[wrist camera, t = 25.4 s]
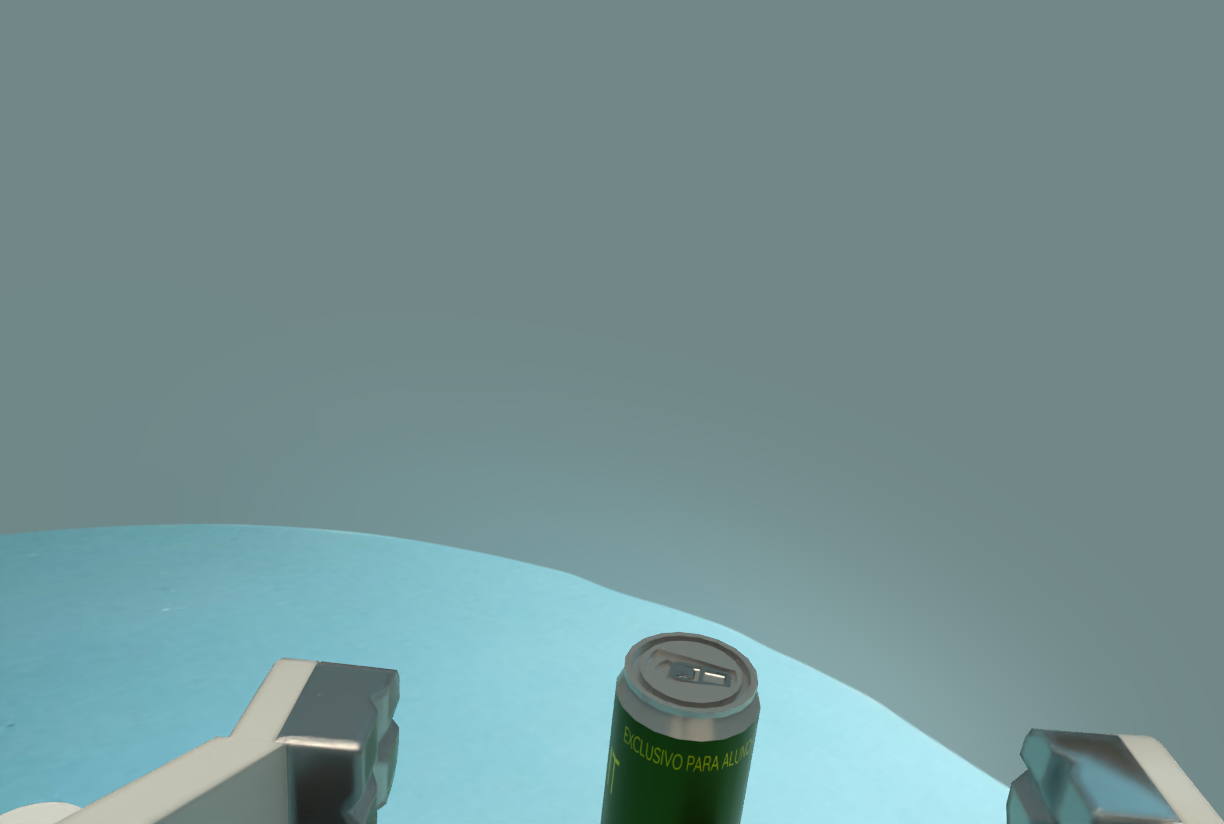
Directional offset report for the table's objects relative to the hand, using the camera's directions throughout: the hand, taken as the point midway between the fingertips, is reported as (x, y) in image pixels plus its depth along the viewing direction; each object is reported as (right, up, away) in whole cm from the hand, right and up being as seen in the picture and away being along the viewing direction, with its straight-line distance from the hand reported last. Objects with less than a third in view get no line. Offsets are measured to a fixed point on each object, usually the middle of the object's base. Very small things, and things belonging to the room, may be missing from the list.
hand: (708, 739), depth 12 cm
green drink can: (0, -17, +27) cm, 31 cm away
